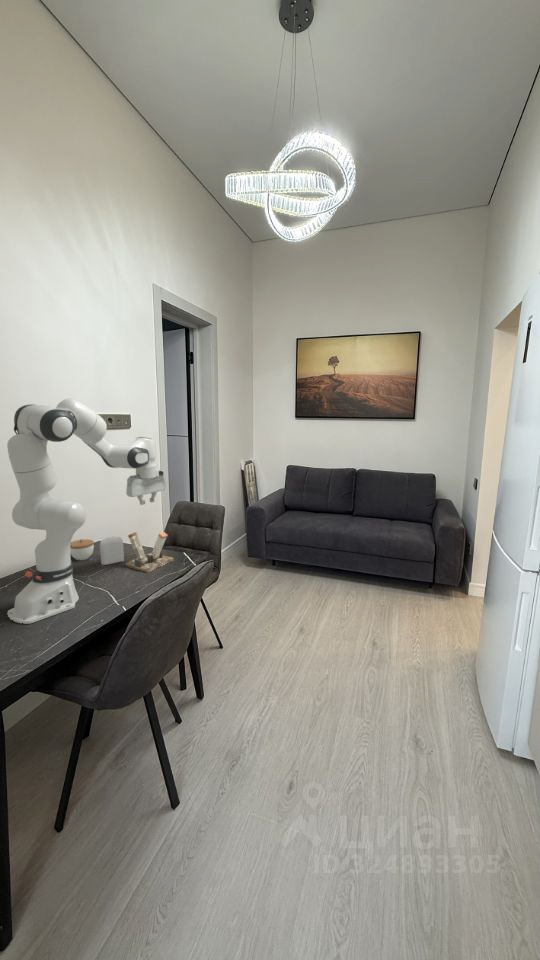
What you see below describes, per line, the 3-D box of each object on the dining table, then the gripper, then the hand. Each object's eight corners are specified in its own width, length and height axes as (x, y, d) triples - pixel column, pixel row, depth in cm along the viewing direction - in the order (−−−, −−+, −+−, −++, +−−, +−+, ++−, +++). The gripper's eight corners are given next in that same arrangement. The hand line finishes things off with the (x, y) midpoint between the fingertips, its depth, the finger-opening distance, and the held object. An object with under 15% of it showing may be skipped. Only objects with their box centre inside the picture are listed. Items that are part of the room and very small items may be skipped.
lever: (152, 561, 177) (162, 537, 172) (148, 557, 178) (158, 533, 173) (158, 558, 181) (168, 534, 175) (155, 555, 181) (164, 531, 176)
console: (147, 572, 168) (145, 539, 165) (125, 566, 175) (123, 533, 172) (173, 561, 182) (172, 529, 179) (152, 555, 188) (151, 525, 186)
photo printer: (102, 566, 175) (100, 540, 172) (100, 563, 178) (98, 537, 176) (125, 561, 180) (123, 536, 178) (123, 558, 184) (121, 534, 182)
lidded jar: (75, 554, 189) (73, 536, 187) (97, 553, 190) (96, 535, 188) (66, 562, 178) (64, 543, 177) (90, 562, 179) (88, 543, 178)
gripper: (132, 476, 160) (133, 508, 163) (167, 471, 178) (168, 499, 180) (122, 475, 163) (123, 506, 166) (157, 470, 181) (158, 498, 183)
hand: (147, 503), depth 173 cm, fingers open, 4 cm apart
